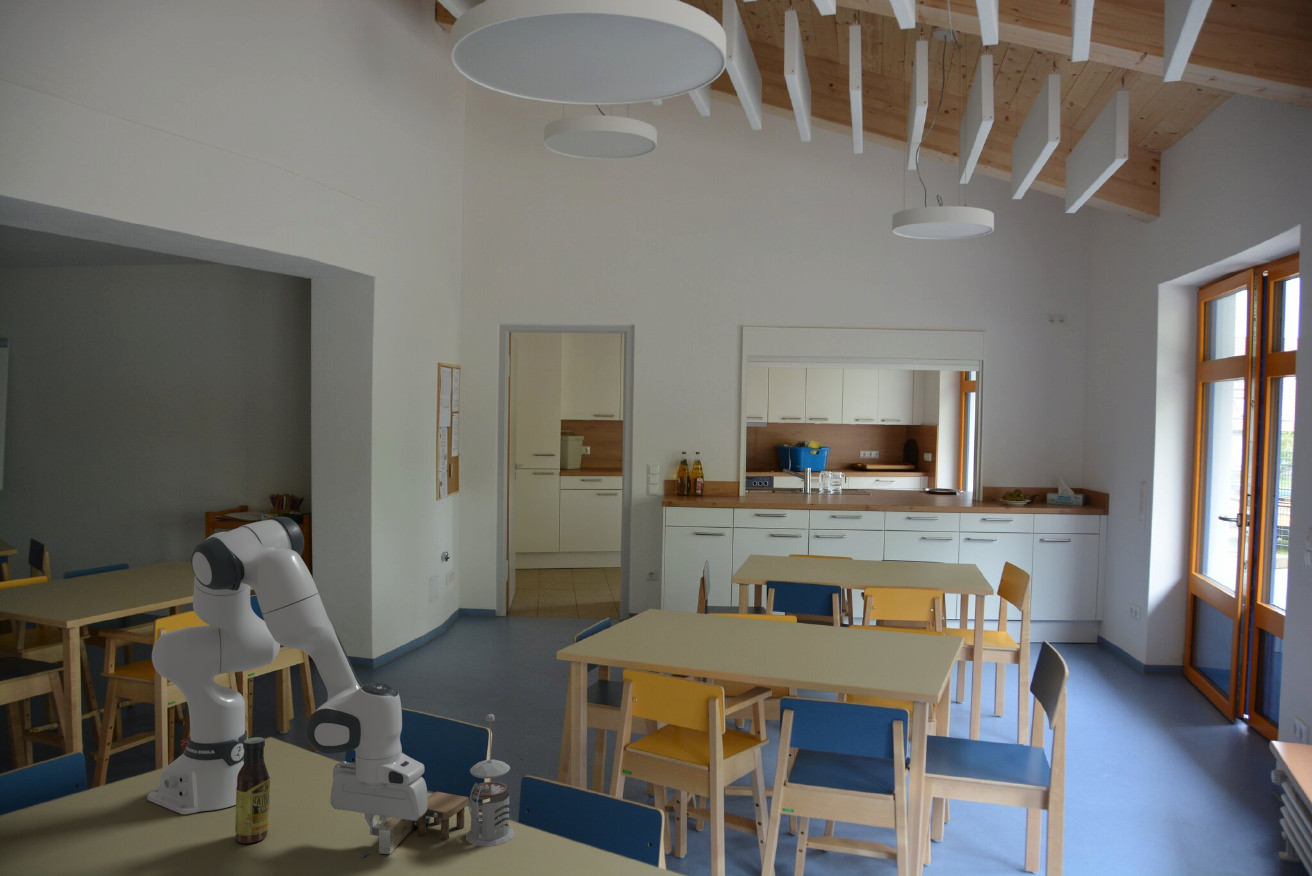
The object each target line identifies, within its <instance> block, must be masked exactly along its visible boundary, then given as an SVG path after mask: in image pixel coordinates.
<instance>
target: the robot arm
mask: <svg viewBox="0 0 1312 876" xmlns="http://www.w3.org/2000/svg"><path fill="white" fill-rule="evenodd" d="M304 537H305V536H304V533H303V531H302V529H301V527H300V526H299V524H298V523H296V521H294V520H293V519H292V518H290V517H287V516H275V517H274V516H273V517H268V518H267V519H266V520H260V521H256V522H252V523H247V524H243V525H240V526H239V527H237V528H234V529H231V530H228V531H221V532H216V533H213V534H211V535H210V536H208V537H207V538H206V539H205V540H203V541H201V542H200V543H198V544H197V545H196V546H194V549H193V550H192V554H191V559H190V563H191V568H192V573H193V574H194V579H193V599H192V609H193V611H194V614H195V615H196V616H197V617H198V618H199V619H200V620H201V621H202V622H204V623H205V624H207V625H198V626H189V627H188V626H187V627H182V628H178V629H175V630H171V631H169V632H165V633H162V634H161V635H160V636H159V637H158V639H156V641H155V643H154V645H153V648H152V651H151V662H152V665H153V667H154V669H155V671H156V673H158V675H160V676H161V677H163V678H164V679H165V680H168V681H169V682H171V683H172V684H173V685H175V686H176V687H177V688H178V689H179V690H180V691H181V693H182V694H183V696H184V699H185V701H186V704H187V707H188V714H189V730H190V732H189V733H190V735H189V737H187V738H184V739H182V740H180V742H182V743H181V744H180V746H184V745H185V748H184V751H183V753H182V754H181V755H180V756H178V757H177V758H176V759H175V760H173V762H171V763H170V764H168V765H167V766H166V767H165V768H164V769H163V770H162V772H161V774H160V778H159V786H158V787H156V788H155V789H153V790H152V791H150V792H149V793H148V795H147V801H149V802H152V803H154V804H155V805H158V806H160V807H163V808H165V809H168V810H171V811H173V812H176V813H178V814H180V815H190V814H195V813H199V812H206V811H207V812H209V811H215V810H221V809H225V808H226V809H227V808H229V807H233V806H236V788H237V776H238V773H239V771H240V769H241V768H242V766H243V764H244V762H243V760H244V748H243V741H244V740H246V739H249V738H248V732H247V730H246V701H245V698H244V696H243V695H242V694H241V693H240V692H239V691H238V690H235V689H233V688H230V687H227V686H224V685H221V684H218V683H216V681H215V677H216V676H219V675H222V674H230V673H231V674H232V673H239V672H246V671H247V672H248V671H253V670H256V669H259V668H262V667H265V666H269V665H271V664H272V663H273V662H274V661H275V660H276V659H277V657H278V655H279V652H280V649H281V646H282V647H284V648H285V647H286V648H289V649H293V650H299V651H301V652H304V653H306V655H308V656H309V657H310V658H311V659H312V661H313V662H314V664H315V666H316V669H317V671H318V673H319V675H320V677H321V680H322V681H323V683H324V686H325V689H326V690H327V691H326V692H327V701H326V702H324V703H323V704H322V705H320V706H318V707H317V709H316V710H315V711H313V713H311V715H310V716H309V717H308V719H307V721H306V725H305V736H306V739H307V741H308V743H309V744H310V745H311V747H312V748H313V749H314V750H316V752H319V753H322V754H326V755H327V754H328V755H329V754H338V753H343V752H344V753H345V752H350V751H352V750H353V751H354V752H355V762H348V761H345V760H343V761H340V762H337V763H336V764H335V765H334V766H333V769H332V779H333V780H332V784H331V789H330V790H331V792H330V801H329V802H330V805H331V806H332V808H333V810H334V809H335V810H340V811H341V810H342V811H346V812H347V811H348V812H354V813H360V814H364V819H365V822H366V823H367V826H368V827H369V835H370V836H377V837H379V829H380V828H381V827H382V826H384V825H385V824H386V823H387V822H388V821H389V820H390V819H391V818H392V817H393V818H400V819H407V820H413V821H416V820H418V819H419V818H420V817H422V816H423V815H424V814H425V812H426V811H427V797H428V788H427V784H426V783H427V782H426V780H425V779H424V777H422V775H423V774H424V773H425V765H424V763H421V762H420V761H418V760H416V759H414V758H412V757H410V756H408V755H406V754H405V753H403V751H402V749H403V747H402V743H401V734H402V731H403V730H402V729H403V712H402V703H401V697H400V693H399V692H398V690H397V689H396V688H395V687H393V686H392V685H390V684H387V683H382V682H370V683H364V684H363V683H362V682H361V681H360V679H359V678H358V675H357V674H356V671H355V669H354V667H353V665H352V662H351V660H350V659H349V656H348V654H347V652H346V649H345V648H344V645H343V643H342V641H341V639H340V637H339V635H338V633H337V631H336V629H335V628H334V625H333V624H332V623H331V620H330V618H329V615H328V614H327V611H326V608H325V606H324V603H323V601H322V598H321V596H320V593H319V590H318V588H317V584H316V582H315V580H314V579H313V576H312V574H311V572H310V570H309V568H308V566H307V565H306V563H305V562H304V560H303V558H302V557H301V556H302V555H303V552H304V549H305V538H304ZM251 588H252V589H253V592H254V593H255V596H256V599H257V603H258V606H259V608H260V612H261V615H262V617H263V619H262V618H260V617H259V616H258V615H257V613H255V612H254V610H253V608H252V604H251ZM376 816H379V821H381V823H379V822H378V820H377V817H376Z"/></svg>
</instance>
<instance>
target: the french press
mask: <svg viewBox="0 0 1312 876" xmlns="http://www.w3.org/2000/svg"><path fill="white" fill-rule="evenodd" d="M495 720H496V717H495V715H494V714H492V713H490V714H487V715H486V717H485V721H486V722H489V759H485V760H481V761H478V762H477V763H476V764H474V765H473V766H472V767H471V768H470V769H469V772H470V775H472V776H473V777H475V778H479V779H489V781H485V782H481V783H478V782H475V783H474V784H473V786H472V788H471V792H470V796H469V804H468V810H469V815H470V818H471V819H470V830H469V831H468V832H467V833H466V835H465V840H466V841H467V842H468V843H469V844H471V845H474V846H476V847H487V848H488V847H495V846H494V845H497V846H500V845H503V844H506V843H507V842H509V841H511V840H512V839H513V837H514V835H515V832H514V830H513V828H510V825H509V824H510V819H509V818H510V813H509V812H510V806H509V805H510V793H509V792H508V789H509V787H508V785H507V784H506V783H504V782H500V781H492V779H494V778H495V779H496V778H498V777H502V776H504V775H507V774H508V772H509V771H510V770H511V766H510V765H509V764H507V763H506V762H505V761H501V760H497V759H492V757H491V756H492V722H494V721H495ZM488 799H489V801H487V800H488ZM475 800H476V801H475ZM479 800H481V801H482V800H483V801H485V800H486V801H487V802H479ZM480 807H481V808H480ZM480 813H481V814H480ZM498 817H499V818H498Z"/></svg>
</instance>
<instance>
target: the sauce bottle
mask: <svg viewBox="0 0 1312 876" xmlns="http://www.w3.org/2000/svg"><path fill="white" fill-rule="evenodd" d="M265 746H266V739H265V738H263V737H259V736H258V737H257V736H256V737H249V738H248V739H246V740H244V741H243V748H244V760H243V762H244V764H243V766H242V768H241V769H240V771H239V773H238V776H237V788H236V805H235V824H234V825H235V826H234V827H235V828H234V832H235V840H236V841H237V842H238V843H240V844H246V845H247V844H253V843H254V844H255V843H258V842H261V841H262V840H264V839H266V837H267V835H268V833H269V828H270V797H271V796H270V788H271V787H270V785H271V777H270V775H269V772H268V771H269V770H268V768H267V766H266V764H265V763H266V762H265V757H264V755H265Z"/></svg>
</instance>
